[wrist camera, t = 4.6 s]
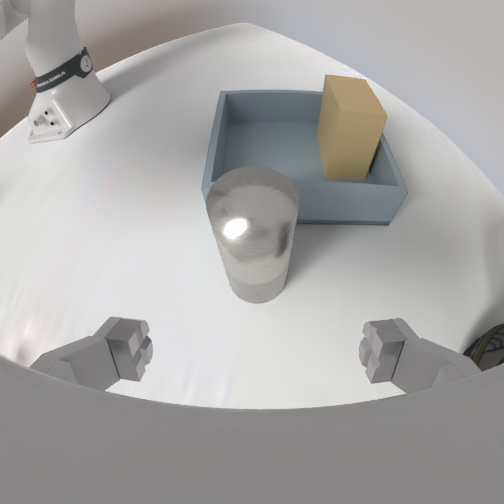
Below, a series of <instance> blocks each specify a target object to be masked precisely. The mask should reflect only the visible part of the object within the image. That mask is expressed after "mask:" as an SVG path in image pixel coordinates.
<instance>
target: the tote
mask: <svg viewBox="0 0 504 504" xmlns="http://www.w3.org/2000/svg"><path fill="white" fill-rule="evenodd" d="M322 96H323V92H316V91H298V90H240V91H222V92H220V96H219V100H218V105H217V110H216V114H215V119H214V124H213V129H212V134H211V139H210V144H209V149H208V154H207V160H206V165H205V171H204V177H203V183H202V192H203V196H204V199H205V203H206V199H207V195H208V192H209V190H210V188H211V186H212V185H213V184H214V183H215V181H216V180H217V179H219V178H220V177H221V176H222V175H224V174H226V173H227V172H229V171H231V170H234V169H237V168H240V167H246V166H262V167H267V168H271V169H274V170H276V171H278V172H280V173H282V174H284V175H285V176H286V177H287V178H289V179H290V180H291V181H292V183H293V184H294V186H295V187H296V189H297V192H298V195H299V208H298V215H297V221H296V224H355V225H388V224H389V223H390V221H391V220H392V218H393V217H394V215H395V213H396V212H397V210H398V209H399V207H400V205H401V204H402V202H403V200H404V199H405V197H406V195H407V194H408V192H407V190H406V187H405V184H404V182H403V179H402V176H401V174H400V171H399V169H398V167H397V164H396V162H395V159H394V157H393V155H392V152H391V150H390V148H389V146H388V143H387V141H386V139H385V137H384V135H383V133H381V136H380V139H379V142H378V145H377V147H376V150H375V153H374V156H373V158H372V161H371V164H370V166H369V169H368V172H367V174H366V177H365V179H364V180H350V179H329V178H325V174H324V169H323V164H322V159H321V155H320V150H319V145H318V141H317V137H316V136H317V130H318V123H319V117H320V110H321V103H322Z"/></svg>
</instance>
